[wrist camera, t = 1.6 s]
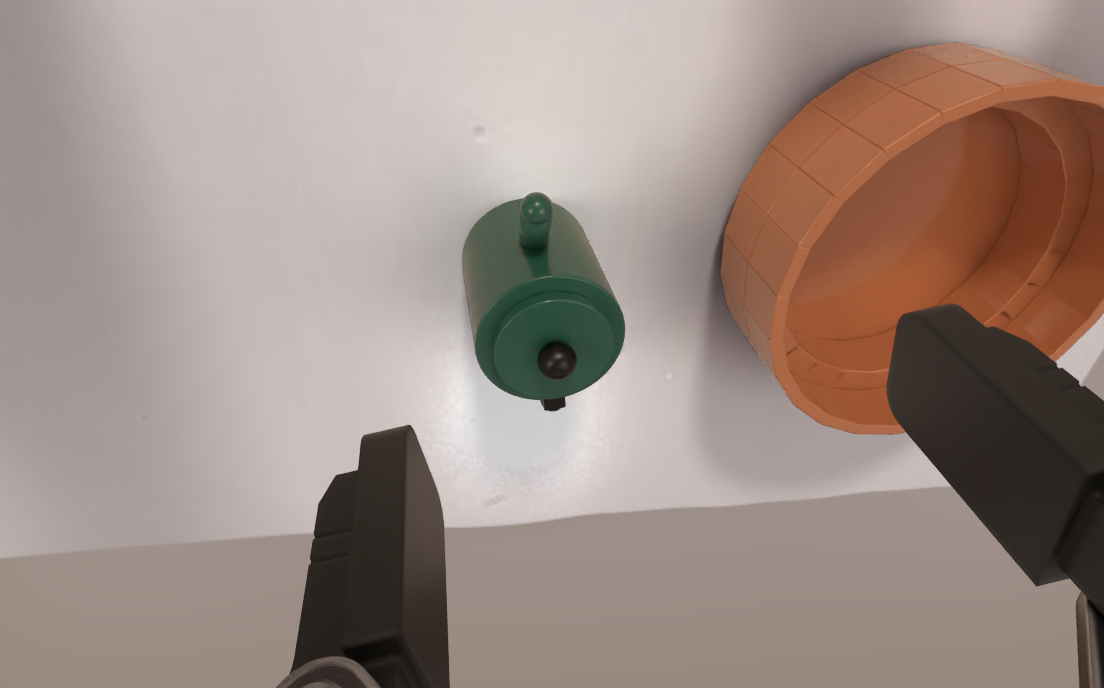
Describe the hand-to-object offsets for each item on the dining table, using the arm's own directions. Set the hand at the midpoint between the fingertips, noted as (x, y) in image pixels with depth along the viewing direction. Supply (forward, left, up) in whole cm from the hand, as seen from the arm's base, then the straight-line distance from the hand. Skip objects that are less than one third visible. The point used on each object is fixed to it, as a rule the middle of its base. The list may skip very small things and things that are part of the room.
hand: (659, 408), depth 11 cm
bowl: (+17, -8, -19) cm, 26 cm away
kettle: (0, -7, -19) cm, 20 cm away
